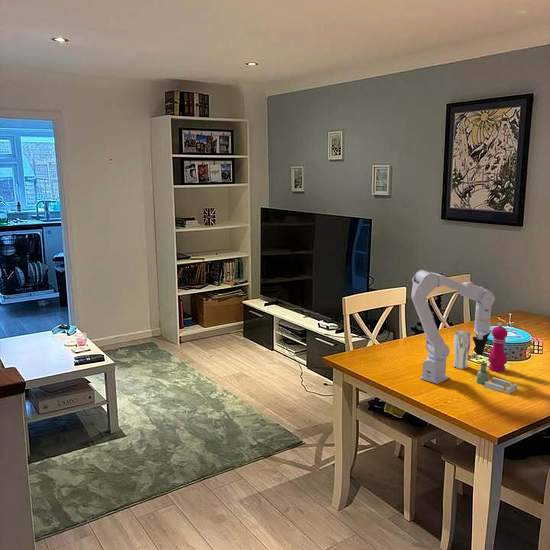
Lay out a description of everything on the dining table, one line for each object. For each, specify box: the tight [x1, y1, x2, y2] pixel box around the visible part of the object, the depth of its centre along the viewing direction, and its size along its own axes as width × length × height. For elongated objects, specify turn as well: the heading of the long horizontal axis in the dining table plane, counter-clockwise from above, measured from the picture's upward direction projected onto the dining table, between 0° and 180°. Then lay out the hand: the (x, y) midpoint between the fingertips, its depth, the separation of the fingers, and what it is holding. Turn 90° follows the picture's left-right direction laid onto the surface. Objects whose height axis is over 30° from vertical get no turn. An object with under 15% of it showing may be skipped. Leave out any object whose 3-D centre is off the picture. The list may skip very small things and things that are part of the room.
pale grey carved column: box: [452, 329, 472, 370], centre depth 229 cm, size 7×7×15 cm
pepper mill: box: [487, 322, 508, 373], centre depth 226 cm, size 7×7×20 cm
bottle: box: [476, 362, 490, 386], centre depth 213 cm, size 4×4×8 cm
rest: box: [483, 376, 518, 395], centre depth 208 cm, size 7×10×2 cm
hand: (480, 351), depth 219 cm, fingers open, 7 cm apart
